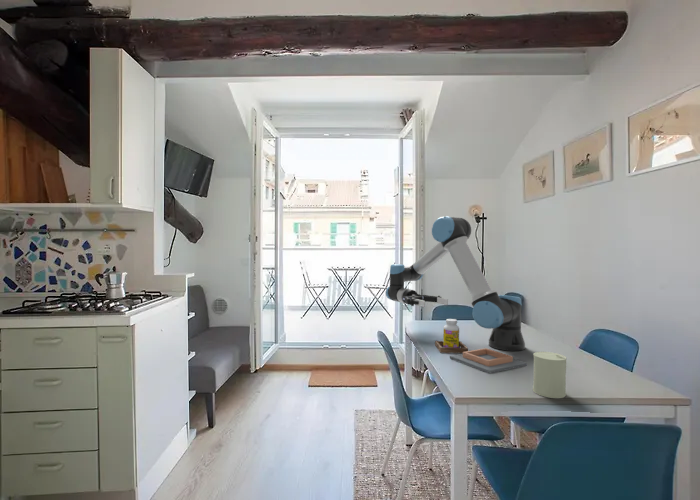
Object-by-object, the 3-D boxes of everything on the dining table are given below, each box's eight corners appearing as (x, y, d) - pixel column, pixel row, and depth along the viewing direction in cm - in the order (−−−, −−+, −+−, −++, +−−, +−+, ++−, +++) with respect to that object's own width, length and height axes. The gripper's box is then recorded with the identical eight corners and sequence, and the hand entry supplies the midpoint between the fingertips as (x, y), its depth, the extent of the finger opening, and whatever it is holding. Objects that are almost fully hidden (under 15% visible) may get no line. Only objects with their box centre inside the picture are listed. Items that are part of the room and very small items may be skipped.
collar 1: (435, 345, 174) (435, 340, 174) (460, 345, 174) (461, 341, 174) (440, 352, 162) (440, 347, 162) (468, 353, 162) (468, 348, 162)
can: (565, 400, 113) (565, 360, 113) (530, 394, 118) (531, 355, 118) (566, 390, 121) (567, 353, 121) (534, 384, 126) (535, 348, 126)
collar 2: (462, 357, 153) (462, 352, 153) (485, 352, 159) (486, 348, 159) (488, 366, 141) (488, 361, 141) (512, 361, 148) (512, 356, 148)
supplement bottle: (442, 350, 166) (443, 320, 166) (443, 346, 172) (444, 317, 172) (458, 351, 164) (459, 321, 163) (459, 347, 170) (459, 319, 170)
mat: (449, 358, 154) (449, 355, 154) (485, 352, 164) (485, 349, 164) (489, 373, 137) (489, 370, 137) (526, 365, 146) (526, 362, 146)
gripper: (426, 302, 201) (456, 309, 182) (387, 305, 189) (413, 313, 171) (427, 288, 201) (456, 293, 182) (387, 290, 189) (414, 296, 170)
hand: (435, 303), depth 176 cm, fingers open, 13 cm apart
